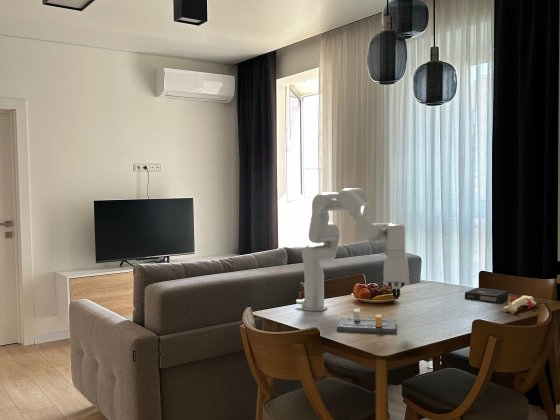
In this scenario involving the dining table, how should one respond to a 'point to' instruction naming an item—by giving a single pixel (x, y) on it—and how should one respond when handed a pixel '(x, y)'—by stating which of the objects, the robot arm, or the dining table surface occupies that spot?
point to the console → (366, 325)
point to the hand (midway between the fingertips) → (396, 298)
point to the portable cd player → (486, 295)
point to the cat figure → (518, 303)
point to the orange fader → (378, 320)
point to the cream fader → (357, 314)
